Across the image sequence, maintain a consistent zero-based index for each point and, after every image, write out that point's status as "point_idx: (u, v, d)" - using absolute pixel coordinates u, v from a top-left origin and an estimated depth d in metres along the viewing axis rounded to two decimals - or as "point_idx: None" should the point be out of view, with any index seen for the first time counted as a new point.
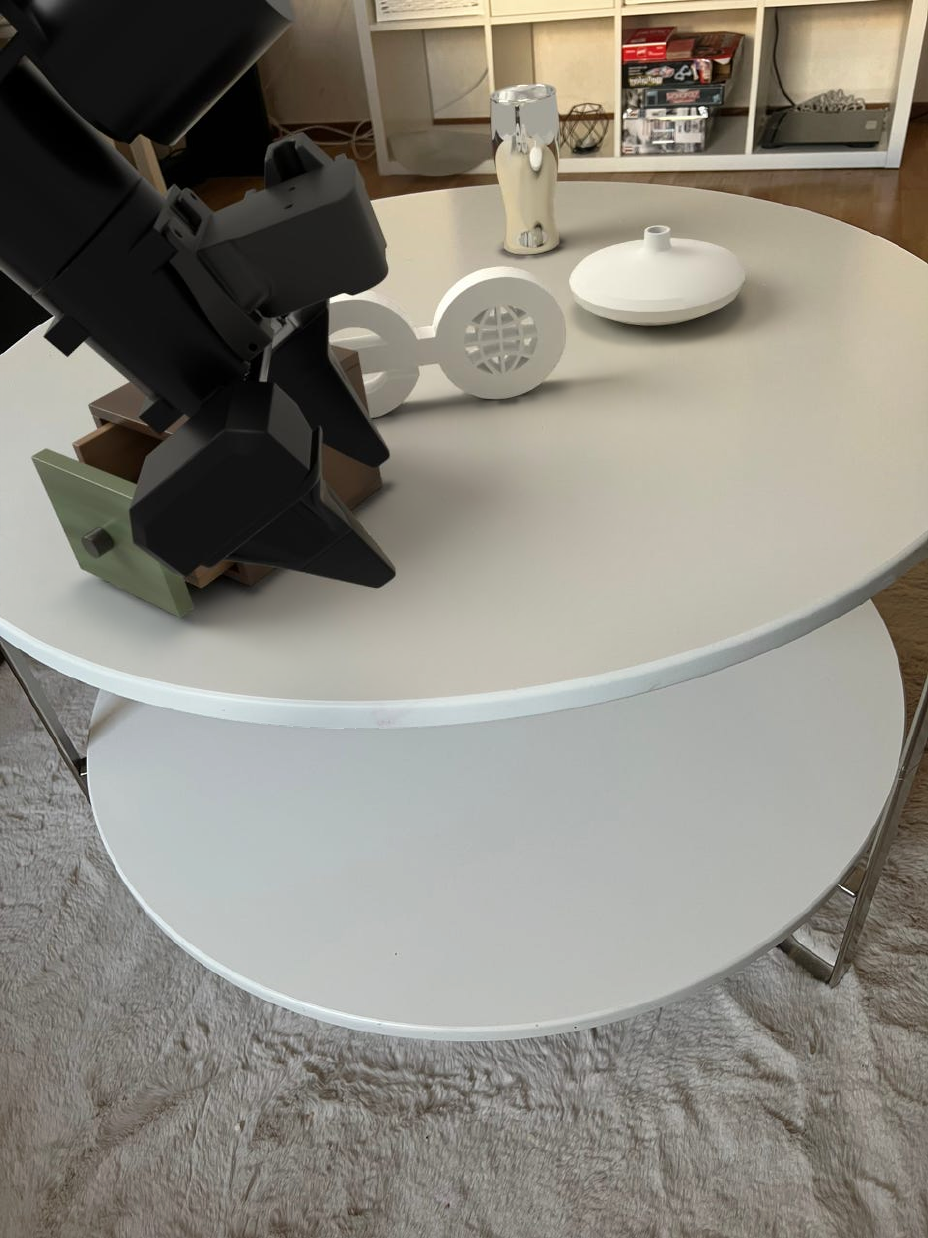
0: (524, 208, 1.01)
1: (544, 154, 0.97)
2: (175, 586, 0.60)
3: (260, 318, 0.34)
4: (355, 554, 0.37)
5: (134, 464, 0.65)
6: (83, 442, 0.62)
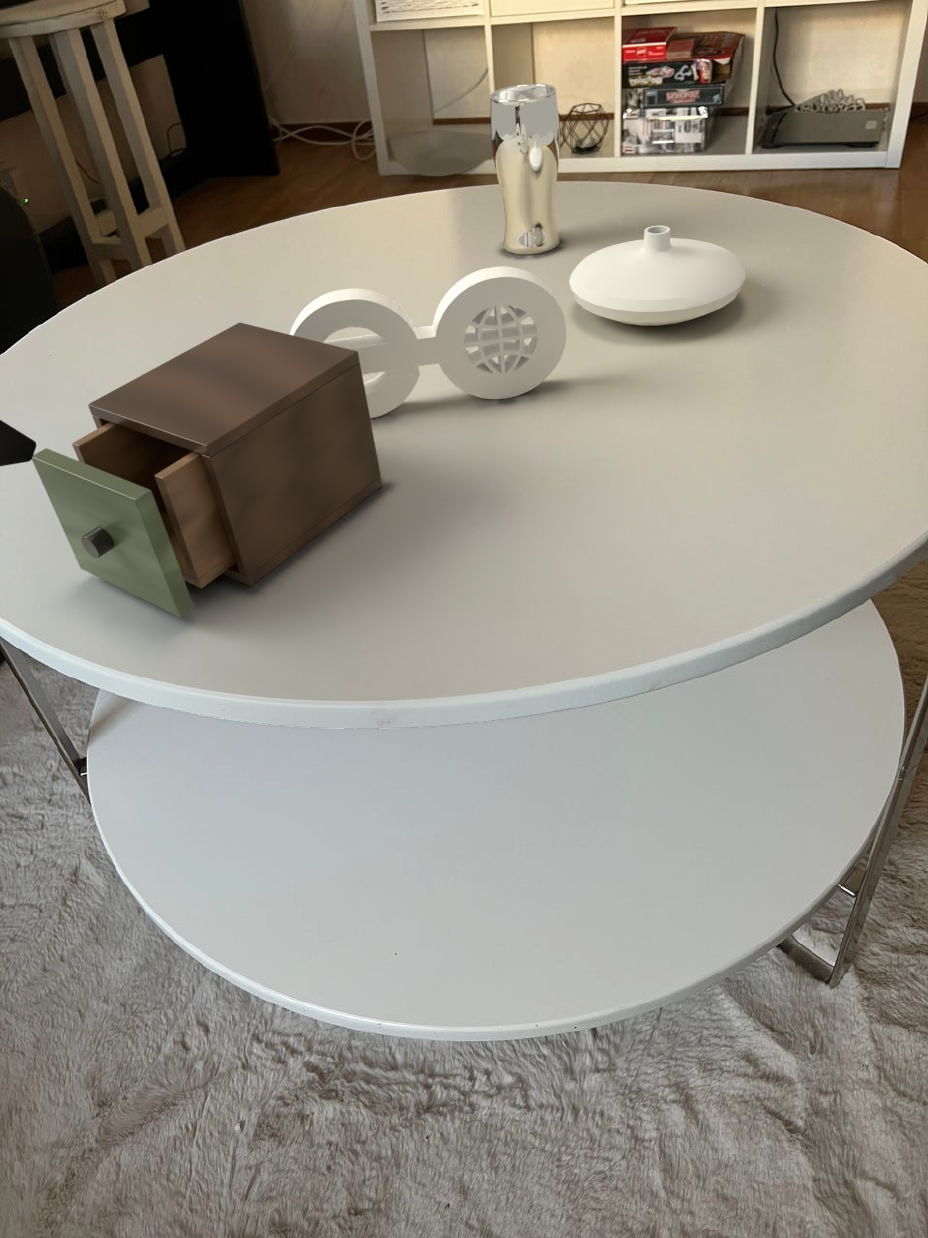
0: (524, 208, 1.01)
1: (544, 154, 0.97)
2: (175, 586, 0.60)
3: None
4: (6, 437, 0.50)
5: (134, 464, 0.65)
6: (83, 442, 0.62)
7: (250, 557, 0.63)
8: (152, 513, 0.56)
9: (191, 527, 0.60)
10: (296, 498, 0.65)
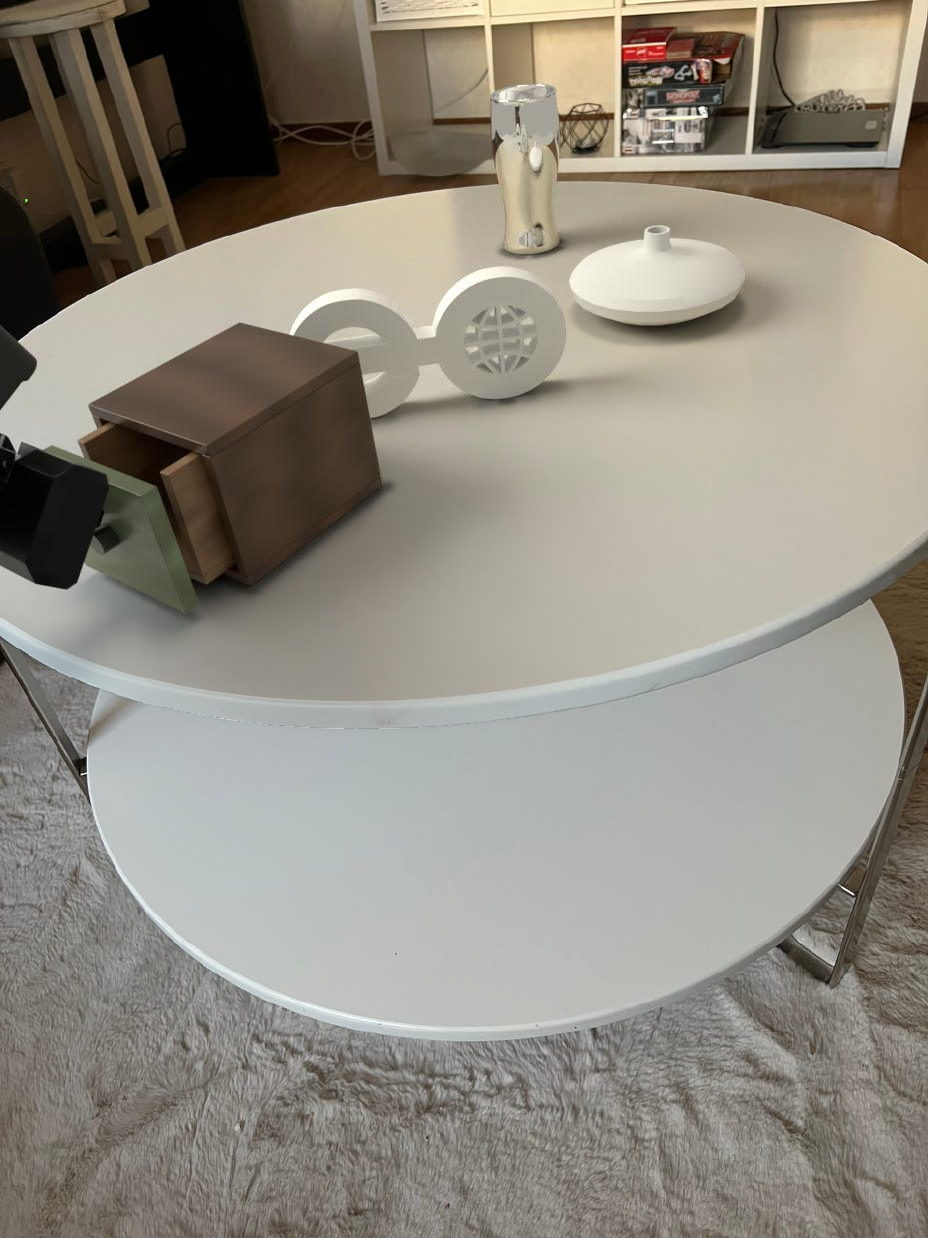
0: (524, 208, 1.01)
1: (544, 154, 0.97)
2: (180, 582, 0.60)
3: None
4: None
5: (139, 461, 0.65)
6: (88, 439, 0.62)
7: (250, 557, 0.63)
8: (158, 509, 0.57)
9: (196, 523, 0.60)
10: (296, 498, 0.65)
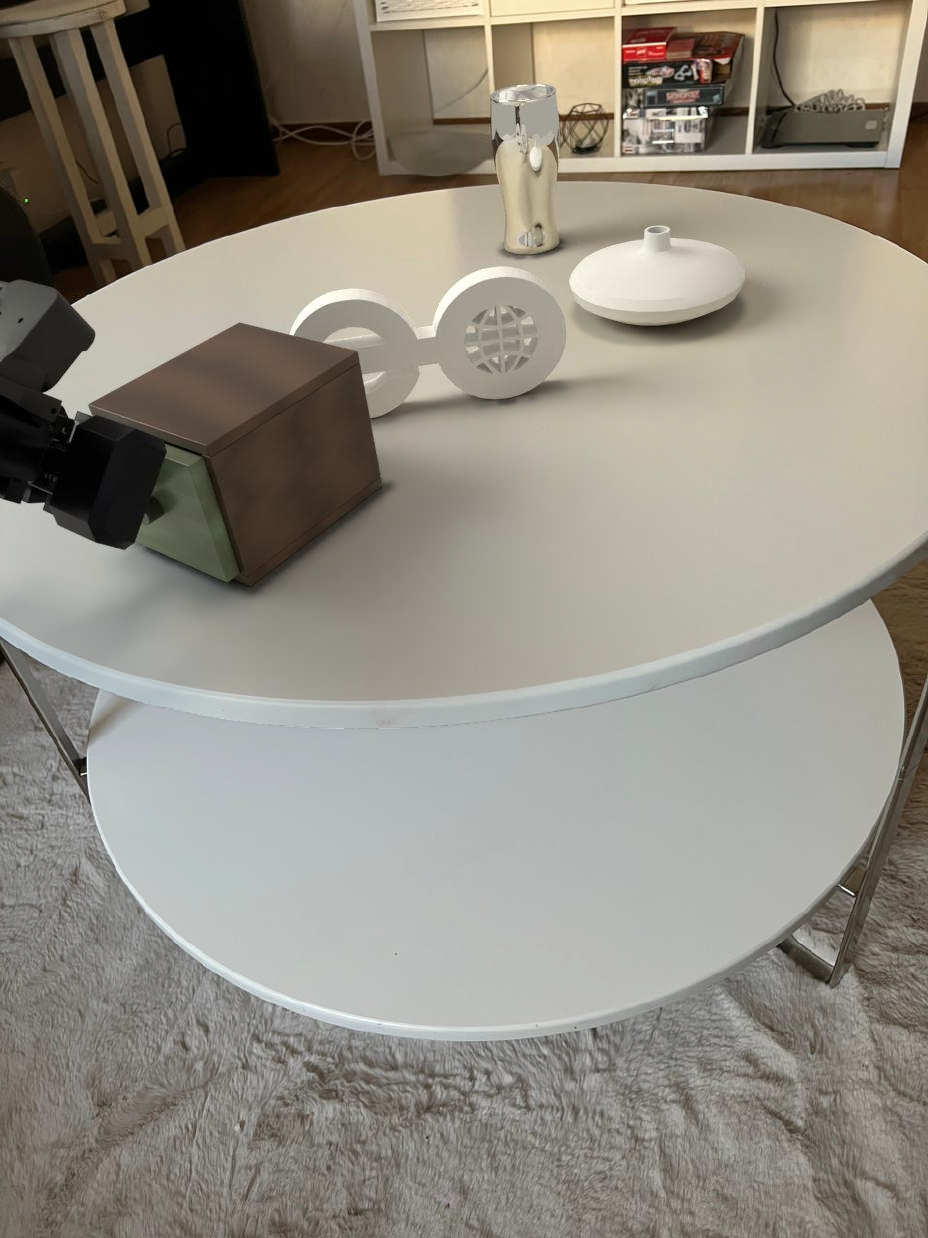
0: (524, 208, 1.01)
1: (544, 154, 0.97)
2: (223, 551, 0.62)
3: (43, 393, 0.52)
4: None
5: None
6: None
7: (250, 557, 0.63)
8: (204, 479, 0.59)
9: None
10: (296, 498, 0.65)
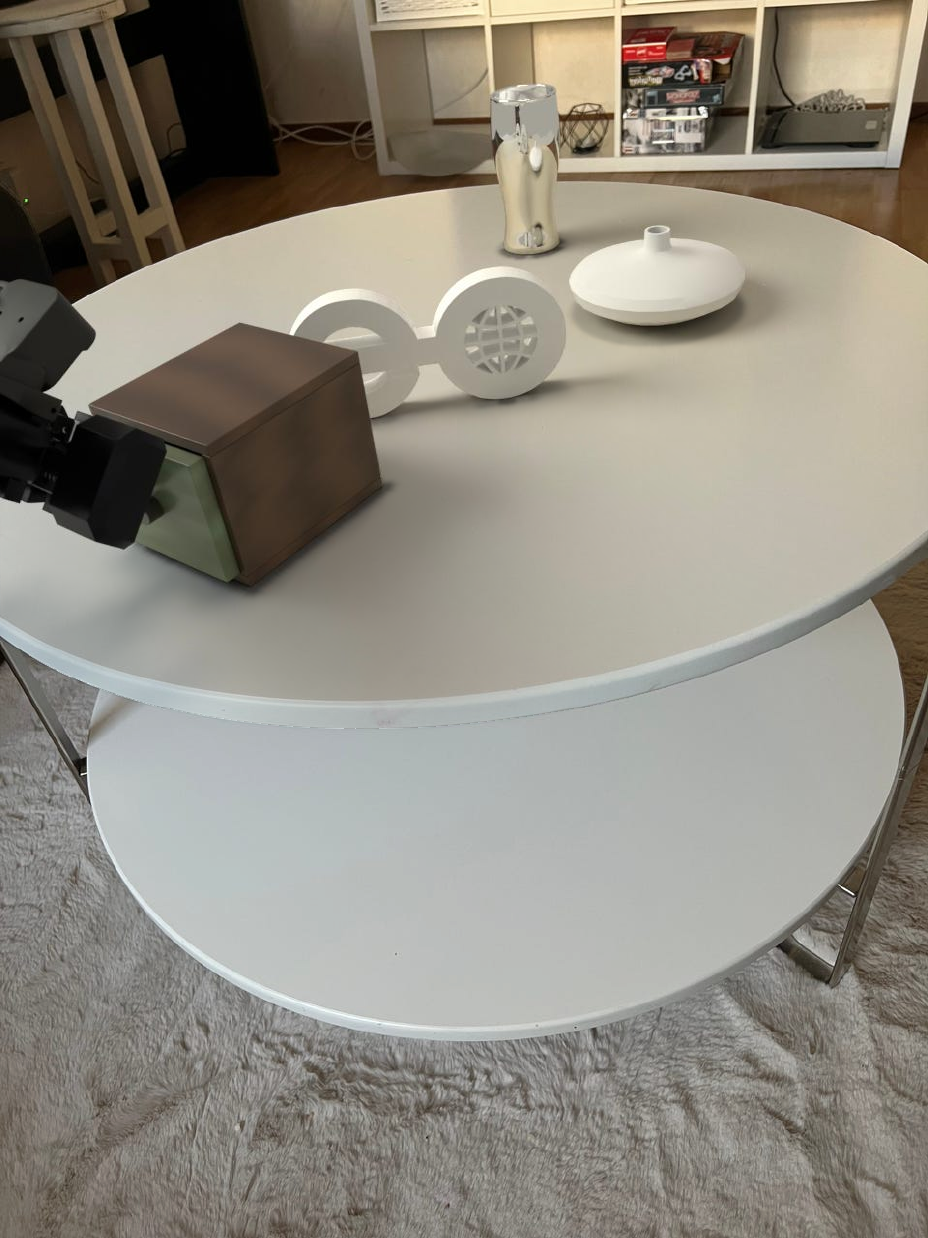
0: (524, 208, 1.01)
1: (544, 154, 0.97)
2: (223, 551, 0.62)
3: None
4: None
5: None
6: None
7: (250, 557, 0.63)
8: (204, 479, 0.59)
9: None
10: (296, 498, 0.65)
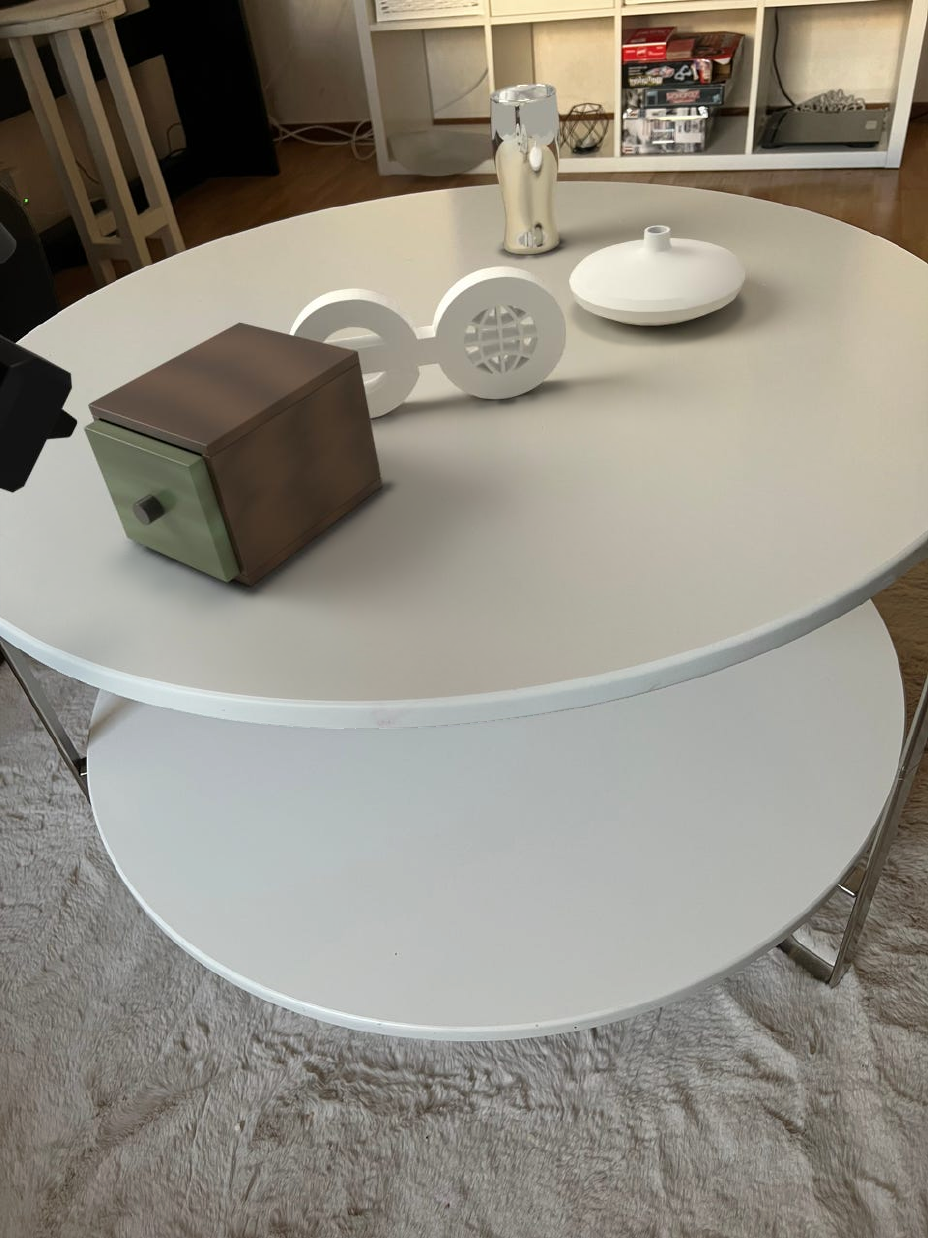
0: (524, 208, 1.01)
1: (544, 154, 0.97)
2: (223, 551, 0.62)
3: None
4: None
5: None
6: None
7: (250, 557, 0.63)
8: (204, 479, 0.59)
9: None
10: (296, 498, 0.65)
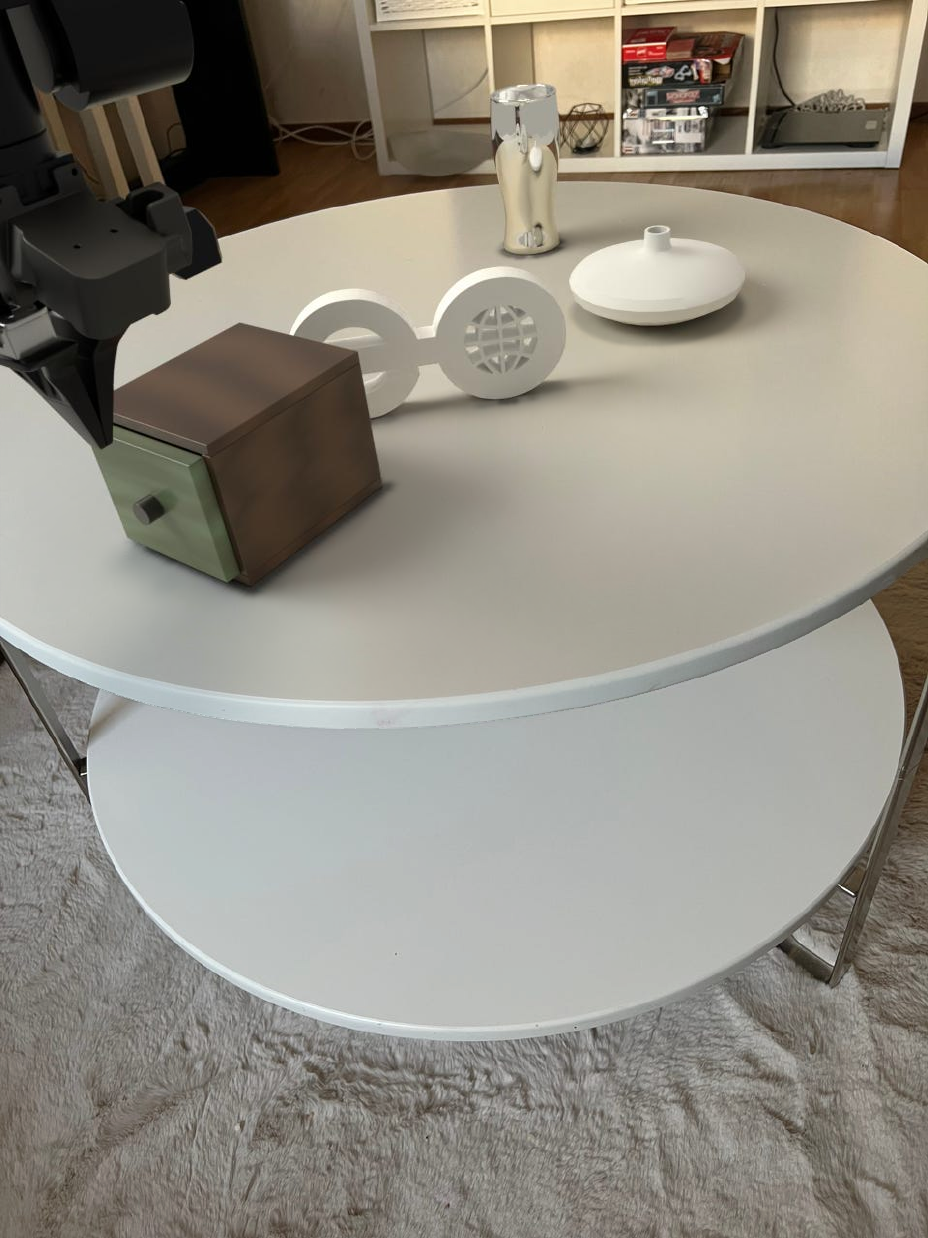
0: (524, 208, 1.01)
1: (544, 154, 0.97)
2: (223, 551, 0.62)
3: (28, 287, 0.44)
4: (75, 419, 0.51)
5: None
6: None
7: (250, 557, 0.63)
8: (204, 479, 0.59)
9: None
10: (296, 498, 0.65)
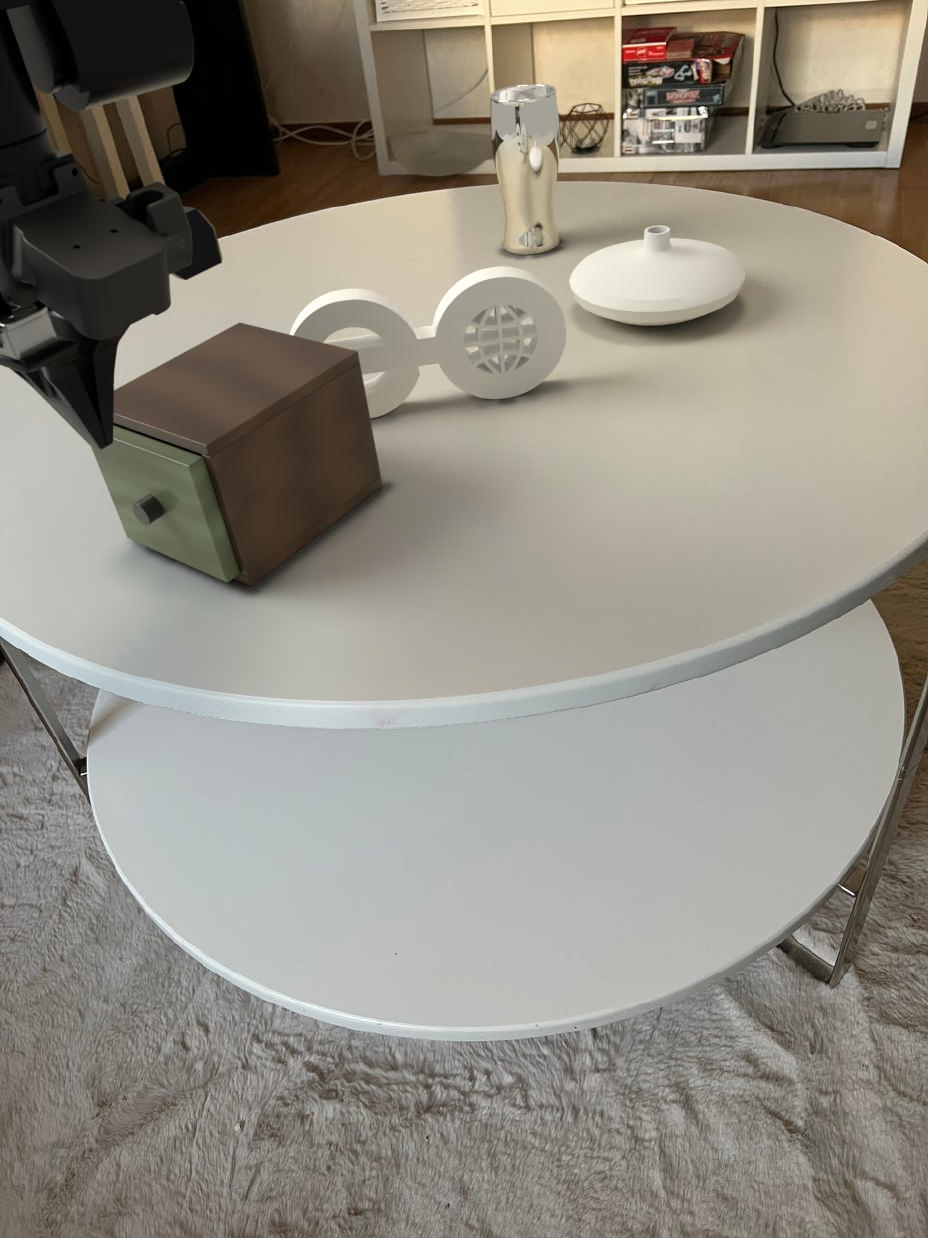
0: (524, 208, 1.01)
1: (544, 154, 0.97)
2: (223, 551, 0.62)
3: (28, 287, 0.44)
4: (75, 419, 0.51)
5: None
6: None
7: (250, 557, 0.63)
8: (204, 479, 0.59)
9: None
10: (296, 498, 0.65)
